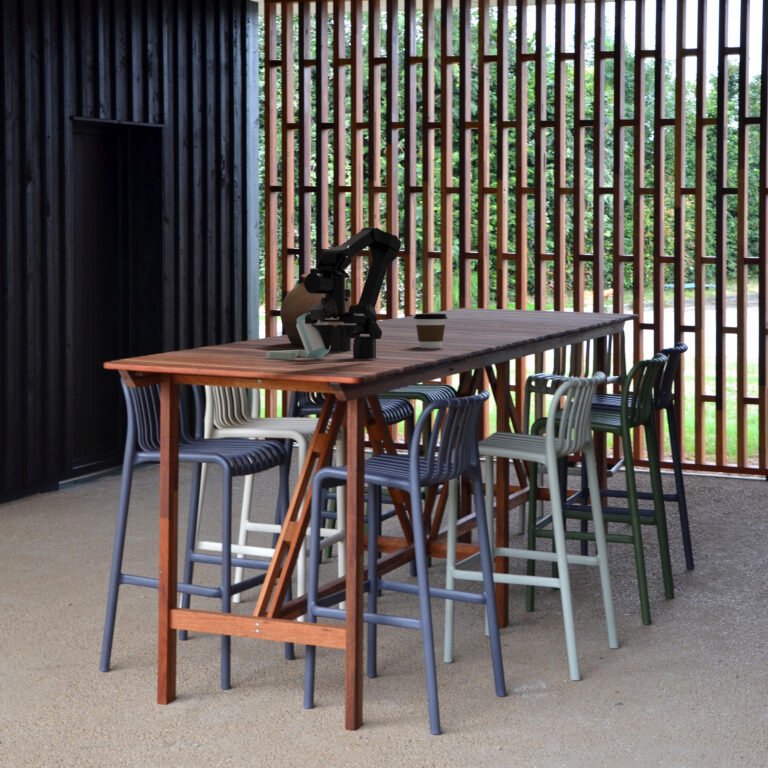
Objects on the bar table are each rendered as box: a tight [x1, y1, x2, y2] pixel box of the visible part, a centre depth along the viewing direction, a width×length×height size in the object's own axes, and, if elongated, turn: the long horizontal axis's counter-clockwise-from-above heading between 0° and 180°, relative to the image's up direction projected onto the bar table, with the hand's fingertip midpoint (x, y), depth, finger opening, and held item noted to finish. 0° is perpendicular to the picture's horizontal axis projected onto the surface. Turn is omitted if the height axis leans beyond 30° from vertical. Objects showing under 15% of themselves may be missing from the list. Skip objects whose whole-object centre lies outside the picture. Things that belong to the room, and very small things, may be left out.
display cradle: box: [265, 349, 325, 361], centre depth 368 cm, size 13×10×2 cm
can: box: [296, 313, 331, 359], centre depth 363 cm, size 7×7×12 cm
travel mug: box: [328, 288, 352, 352], centre depth 395 cm, size 8×8×20 cm
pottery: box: [279, 273, 325, 347], centre depth 411 cm, size 23×23×25 cm
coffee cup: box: [413, 313, 448, 349], centre depth 408 cm, size 11×11×12 cm
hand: (335, 349), depth 357 cm, fingers open, 6 cm apart
